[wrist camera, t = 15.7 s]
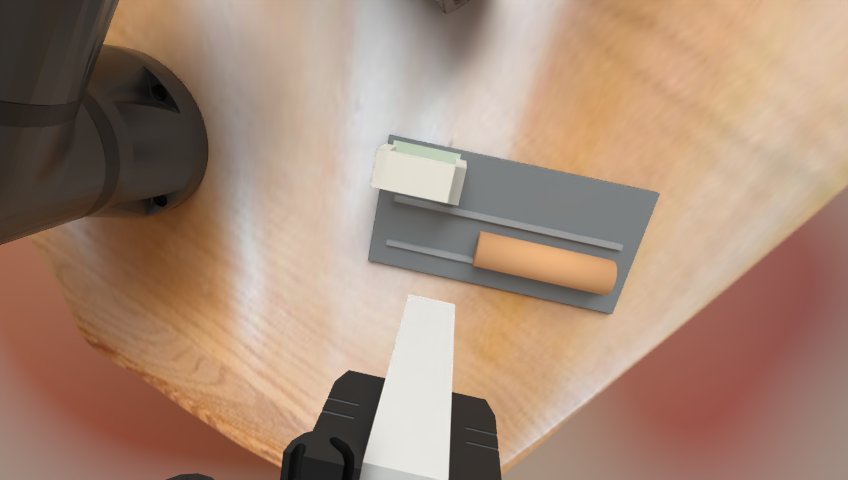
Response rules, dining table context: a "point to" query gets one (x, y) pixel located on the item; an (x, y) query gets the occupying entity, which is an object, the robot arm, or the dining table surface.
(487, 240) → the tan cylindrical rod
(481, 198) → the guide mat
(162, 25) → the dining table surface
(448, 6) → the tube
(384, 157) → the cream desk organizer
